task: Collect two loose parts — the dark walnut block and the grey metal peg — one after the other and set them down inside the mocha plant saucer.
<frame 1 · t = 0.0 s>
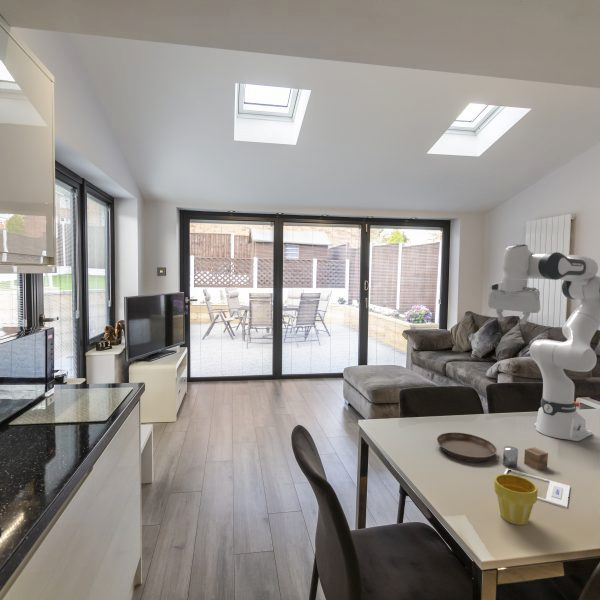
hand: (511, 322, 155), 48 cm above the table, fingers open, 8 cm apart
grey metal peg: (509, 465, 140), on the table
photo frame: (533, 489, 126), on the table
plant pot: (513, 518, 109), on the table
plant saucer: (465, 452, 150), on the table
walnut block: (535, 465, 141), on the table
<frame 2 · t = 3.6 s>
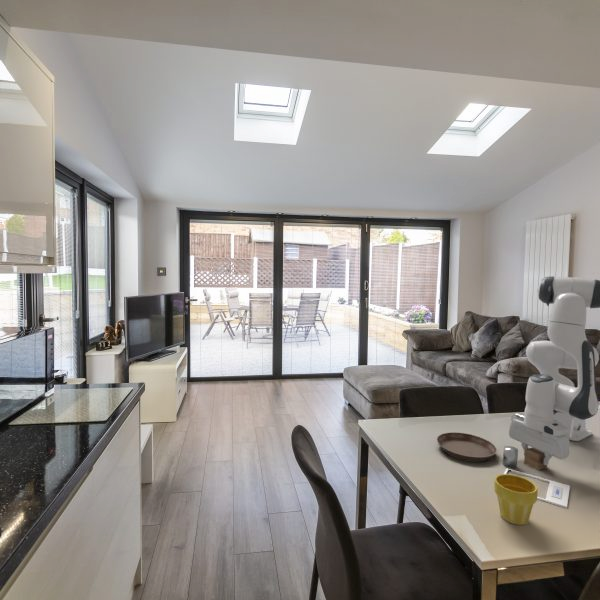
hand: (535, 460, 141), 2 cm above the table, fingers closed on walnut block, 5 cm apart
walnut block: (535, 464, 141), on the table, touching gripper
everything else where it was.
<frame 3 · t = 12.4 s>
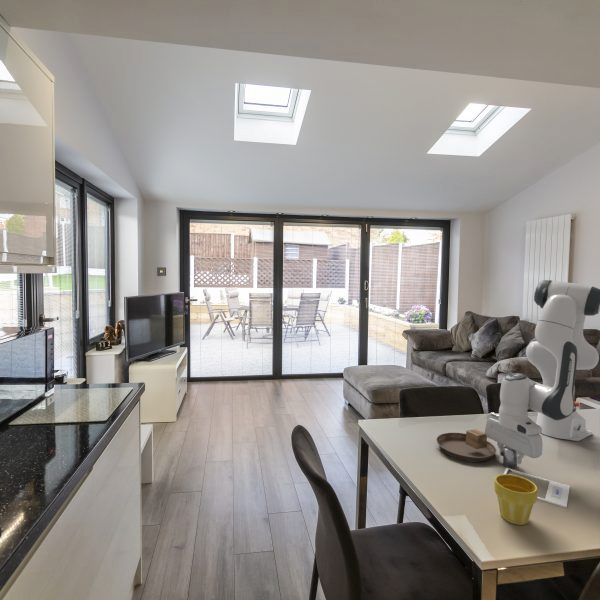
hand: (510, 459, 140), 2 cm above the table, fingers closed on grey metal peg, 4 cm apart
grey metal peg: (509, 465, 140), on the table, touching gripper
plant saucer: (465, 452, 150), on the table, touching walnut block
walnut block: (475, 445, 149), point 3 cm above the table, touching plant saucer
everything else where it was.
when the fingers open (5 cm above the table, at t = 17.2 s): grey metal peg stays where it is, resting on plant saucer.
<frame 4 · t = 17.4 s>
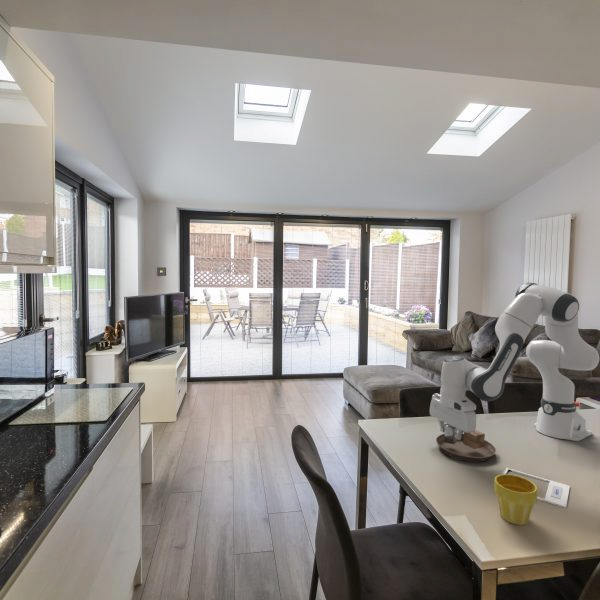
hand: (450, 435, 152), 5 cm above the table, fingers open, 6 cm apart
grey metal peg: (450, 441, 152), point 3 cm above the table, touching plant saucer
plant saucer: (464, 452, 150), on the table, touching grey metal peg, walnut block
everything else where it was.
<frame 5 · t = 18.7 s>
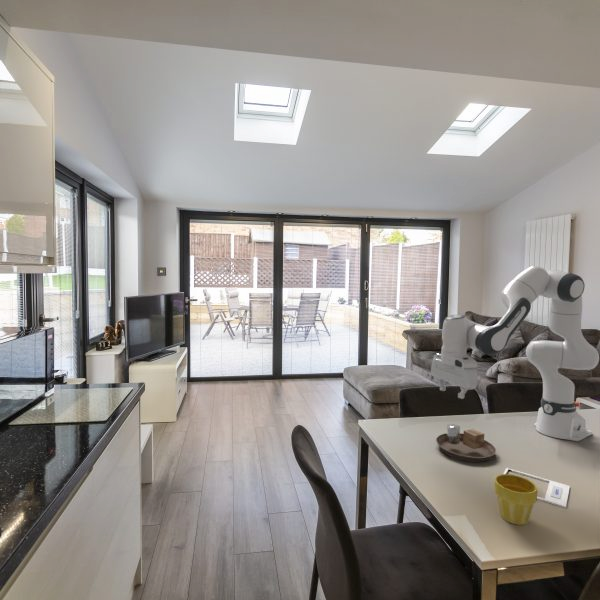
hand: (451, 394, 152), 21 cm above the table, fingers open, 8 cm apart
nothing on the table moved.
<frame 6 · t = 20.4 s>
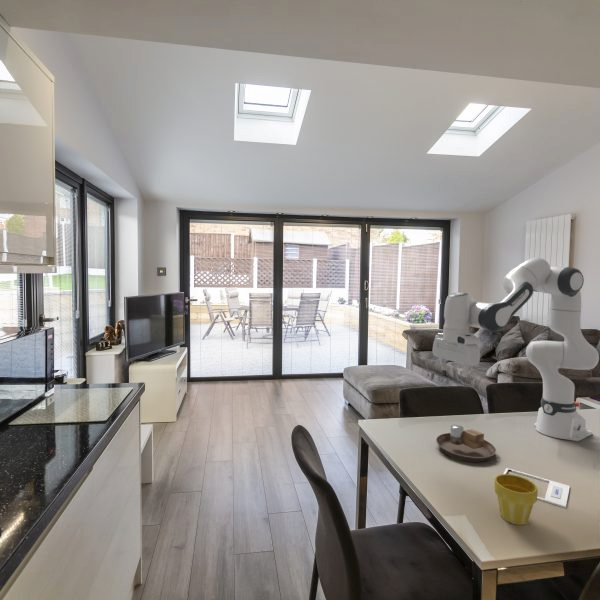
hand: (453, 372, 150), 29 cm above the table, fingers open, 8 cm apart
grey metal peg: (456, 442, 151), point 3 cm above the table, touching plant saucer
at the end: walnut block 2.6 cm from the plant saucer (horizontally); grey metal peg 3.2 cm from the plant saucer (horizontally); walnut block point 2.8 cm above the table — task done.
